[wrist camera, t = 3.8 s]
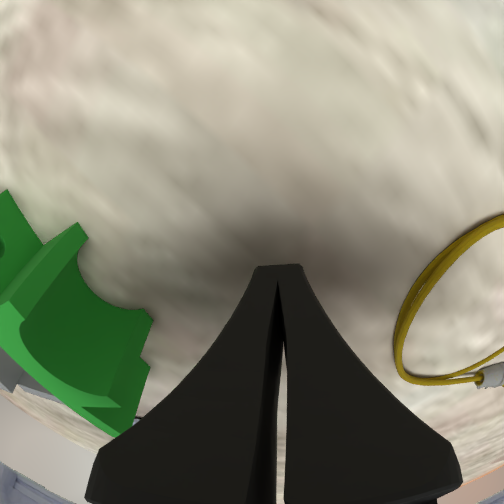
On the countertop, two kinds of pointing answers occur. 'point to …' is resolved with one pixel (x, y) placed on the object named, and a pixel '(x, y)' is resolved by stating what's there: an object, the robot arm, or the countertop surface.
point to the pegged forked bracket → (20, 378)
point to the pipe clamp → (68, 325)
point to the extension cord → (484, 377)
